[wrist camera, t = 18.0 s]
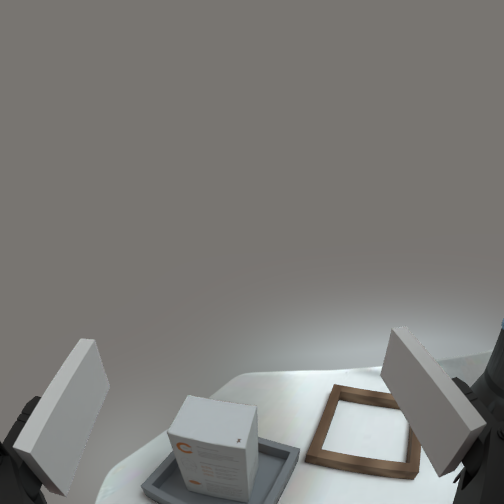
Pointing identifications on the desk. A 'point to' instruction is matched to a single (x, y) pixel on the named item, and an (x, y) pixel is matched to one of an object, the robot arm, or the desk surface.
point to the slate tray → (261, 500)
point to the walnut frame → (356, 462)
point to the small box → (216, 447)
